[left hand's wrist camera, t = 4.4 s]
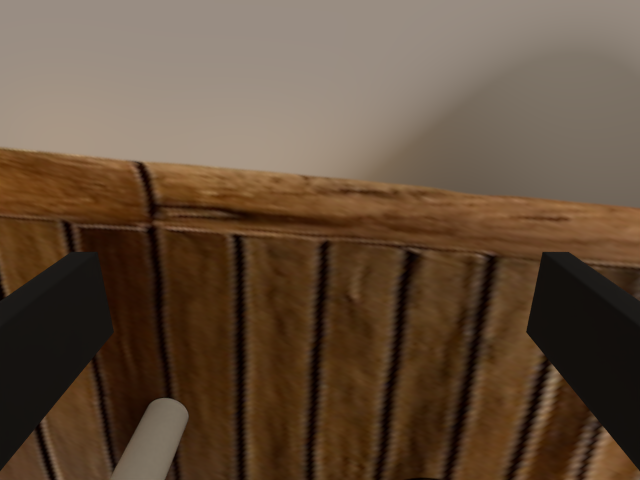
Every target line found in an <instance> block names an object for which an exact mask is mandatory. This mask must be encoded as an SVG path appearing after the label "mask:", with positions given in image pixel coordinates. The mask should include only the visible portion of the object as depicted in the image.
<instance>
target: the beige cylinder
mask: <svg viewBox="0 0 640 480" xmlns="http://www.w3.org/2000/svg"><path fill="white" fill-rule="evenodd" d="M188 418H189V416H188V412H187V409H186V408H185V407H184V406H183V405H182V404H181V403H180V402H178V401H176V400H174V399H170V398H160V399H157V400H154V401H153V402H151V403H150V404H149V406H148V407H147V409H146V411H145V413H144V415H143V417H142V419H141V420H140V422H139V424H138V426H137V428H136V430H135V432H134V434H133V436H132V437H131V439H130V441H129V443H128V445H127V447H126V449H125V451H124V453H123V455H122V456H121V458H120V460H119V462H118V464H117V466H116V468H115V470H114V472H113V474H112V475H111V477H110V479H109V480H165V479H166V476H167V474H168V471H169V468H170V466H171V463H172V461H173V458H174V455H175V453H176V450H177V448H178V445H179V443H180V440H181V437H182V435H183V432H184V430H185V427H186V424H187V422H188Z"/></svg>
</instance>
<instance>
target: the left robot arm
mask: <svg viewBox="0 0 640 480" xmlns="http://www.w3.org/2000/svg"><path fill="white" fill-rule="evenodd" d="M113 332H114V331H113V326H112V321H111V316H110V311H109V307H108V302H107V297H106V292H105V287H104V282H103V277H102V273H101V268H100V263H99V258H98V253H97V252H71V253H69V254H68V255H66V256H65V257H63V258H62V259H61V260H59V261H58V262H56V263H55V264H53V265H52V266H50V267H49V268H48V269H46V270H45V271H43V272H42V273H40V274H39V275H37V276H36V277H35V278H33V279H32V280H30V281H29V282H27V283H26V284H24V285H23V286H22V287H20V288H19V289H17V290H16V291H14V292H13V293H11V294H10V295H9V296H7V297H6V298H4V299H3V300H1V301H0V471H1V469H2V468H3V467H4V466H5V464H6V463H7V462H8V461H9V460H10V458H11V457H12V456H13V455H14V453H15V452H16V451H17V450H18V449H19V447H20V446H21V445H22V444H23V442H24V441H25V440H26V439H27V438H28V436H29V435H30V434H31V433H32V431H33V430H34V429H35V428H36V427H37V425H38V424H39V423H40V422H41V420H42V419H43V418H44V417H45V416H46V414H47V413H48V412H49V411H50V409H51V408H52V407H53V406H54V405H55V403H56V402H57V401H58V400H59V398H60V397H61V396H62V395H63V394H64V392H65V391H66V390H67V389H68V387H69V386H70V385H71V384H72V383H73V381H74V380H75V379H76V378H77V376H78V375H79V374H80V373H81V372H82V370H83V369H84V368H85V367H86V365H87V364H88V363H89V362H90V361H91V359H92V358H93V357H94V356H95V354H96V353H97V352H98V351H99V350H100V348H101V347H102V346H103V345H104V343H105V342H106V341H107V340H108V339H109V337H110V336H111V335H112V334H113ZM526 332H527V334H528V335H529V336H530V337H531V339H532V340H533V341H534V342H535V343H536V345H537V346H538V347H539V348H540V350H541V351H542V352H543V353H544V354H545V356H546V357H547V358H548V359H549V361H550V362H551V363H552V364H553V365H554V367H555V368H556V369H557V370H558V372H559V373H560V374H561V375H562V376H563V378H564V379H565V380H566V381H567V383H568V384H569V385H570V386H571V387H572V389H573V390H574V391H575V392H576V394H577V395H578V396H579V397H580V398H581V400H582V401H583V402H584V403H585V405H586V406H587V407H588V408H589V409H590V411H591V412H592V413H593V414H594V416H595V417H596V418H597V419H598V420H599V422H600V423H601V424H602V425H603V427H604V428H605V429H606V430H607V431H608V433H609V434H610V435H611V436H612V438H613V439H614V440H615V441H616V442H617V444H618V445H619V446H620V447H621V449H622V450H623V451H624V452H625V453H626V455H627V456H628V457H629V458H630V460H631V461H632V462H633V463H634V464H635V466H636V467H637V468H638V469H639V471H640V301H639V300H637V299H636V298H634V297H633V296H631V295H630V294H629V293H627V292H626V291H624V290H623V289H621V288H620V287H618V286H617V285H616V284H614V283H613V282H611V281H610V280H608V279H607V278H605V277H604V276H603V275H601V274H600V273H598V272H597V271H595V270H594V269H592V268H591V267H590V266H588V265H587V264H585V263H584V262H582V261H581V260H579V259H578V258H577V257H575V256H574V255H572V254H571V253H569V252H543V253H542V258H541V263H540V268H539V273H538V277H537V282H536V287H535V292H534V297H533V302H532V307H531V311H530V316H529V321H528V326H527V331H526ZM418 480H431V479H418Z"/></svg>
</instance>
